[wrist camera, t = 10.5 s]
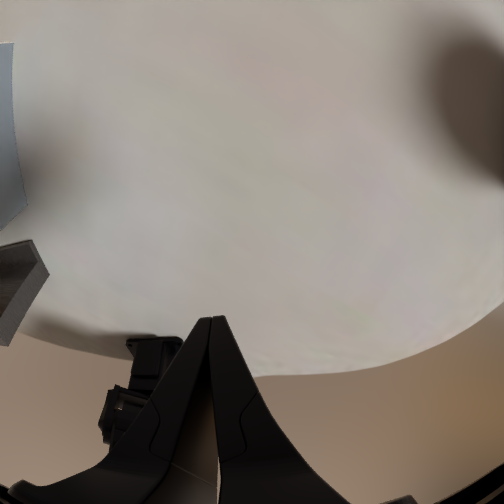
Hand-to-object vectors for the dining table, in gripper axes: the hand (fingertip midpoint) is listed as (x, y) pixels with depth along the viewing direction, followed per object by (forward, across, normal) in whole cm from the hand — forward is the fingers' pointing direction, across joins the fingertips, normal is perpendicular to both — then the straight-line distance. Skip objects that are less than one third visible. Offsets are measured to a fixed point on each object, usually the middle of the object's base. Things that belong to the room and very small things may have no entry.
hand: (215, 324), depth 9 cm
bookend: (+12, +24, +3) cm, 27 cm away
